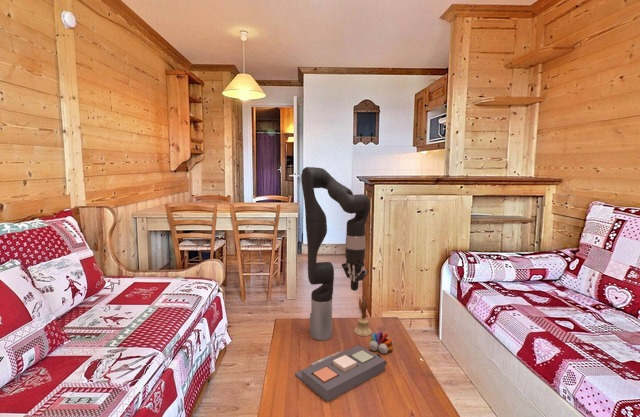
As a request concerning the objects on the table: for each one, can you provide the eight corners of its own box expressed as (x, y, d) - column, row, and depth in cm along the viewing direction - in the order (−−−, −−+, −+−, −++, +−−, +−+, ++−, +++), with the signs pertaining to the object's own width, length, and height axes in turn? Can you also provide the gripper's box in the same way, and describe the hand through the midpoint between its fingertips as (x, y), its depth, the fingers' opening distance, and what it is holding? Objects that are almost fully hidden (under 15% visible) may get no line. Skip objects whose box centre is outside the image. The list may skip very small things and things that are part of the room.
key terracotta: (313, 379, 120) (313, 372, 120) (326, 373, 124) (326, 366, 123) (324, 388, 115) (324, 381, 115) (337, 381, 119) (337, 374, 119)
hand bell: (367, 326, 163) (368, 294, 161) (375, 335, 155) (376, 301, 153) (351, 328, 161) (351, 295, 159) (357, 337, 153) (358, 302, 151)
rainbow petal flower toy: (388, 357, 138) (388, 339, 137) (365, 350, 143) (366, 333, 142) (395, 347, 145) (396, 331, 144) (374, 341, 150) (374, 325, 149)
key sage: (350, 361, 131) (351, 355, 131) (362, 356, 135) (362, 350, 135) (362, 368, 127) (362, 362, 126) (373, 363, 130) (373, 356, 130)
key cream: (332, 366, 125) (332, 360, 125) (345, 361, 129) (345, 354, 129) (344, 374, 121) (344, 368, 121) (356, 368, 125) (356, 362, 124)
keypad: (295, 375, 125) (295, 365, 125) (351, 350, 143) (351, 340, 142) (327, 402, 111) (327, 390, 111) (385, 370, 129) (385, 360, 128)
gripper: (336, 244, 136) (335, 287, 138) (360, 251, 126) (359, 297, 128) (350, 242, 141) (349, 283, 143) (374, 248, 131) (373, 292, 133)
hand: (354, 289), depth 136 cm, fingers closed
